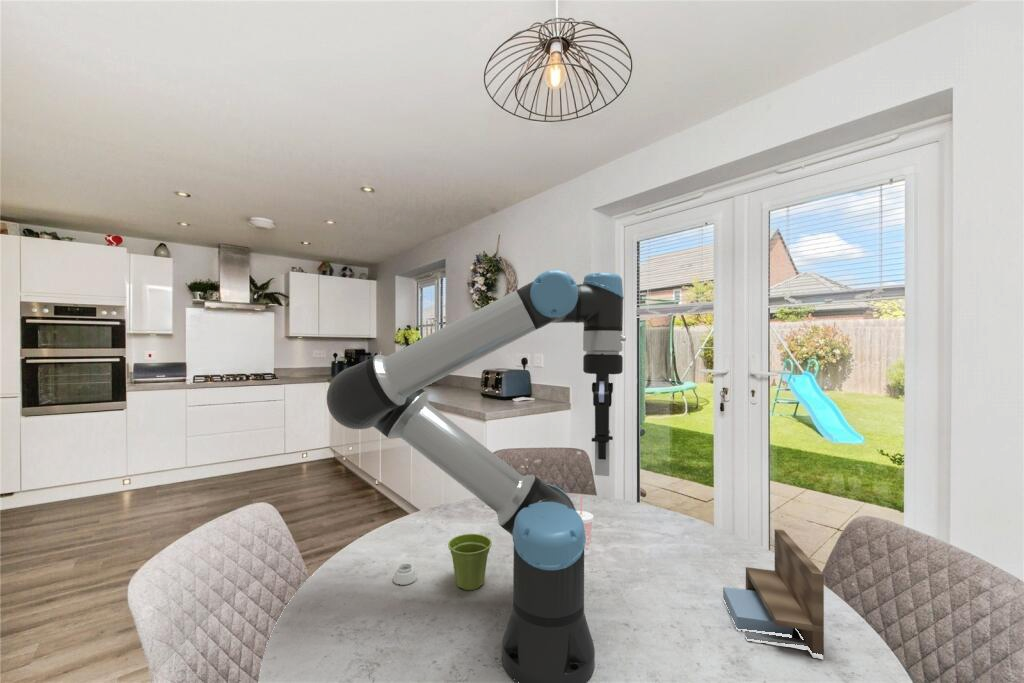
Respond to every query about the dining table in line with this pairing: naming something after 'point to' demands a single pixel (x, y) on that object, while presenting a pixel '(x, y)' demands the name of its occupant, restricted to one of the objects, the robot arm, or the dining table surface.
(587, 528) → the beverage cup
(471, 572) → the plant pot
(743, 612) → the light blue block
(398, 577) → the white jar
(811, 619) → the shelf
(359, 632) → the dining table surface
